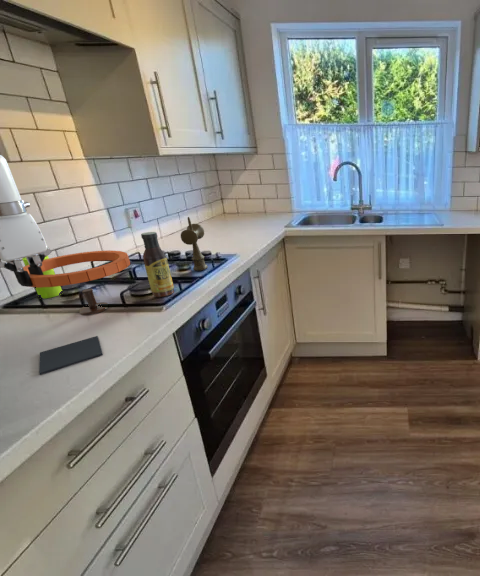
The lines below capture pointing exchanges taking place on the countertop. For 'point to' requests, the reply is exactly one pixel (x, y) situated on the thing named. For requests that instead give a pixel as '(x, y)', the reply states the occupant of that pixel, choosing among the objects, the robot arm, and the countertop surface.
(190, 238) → the kendama
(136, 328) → the countertop surface
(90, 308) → the post
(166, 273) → the sauce bottle
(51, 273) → the soap dispenser
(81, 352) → the pad
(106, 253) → the ring
